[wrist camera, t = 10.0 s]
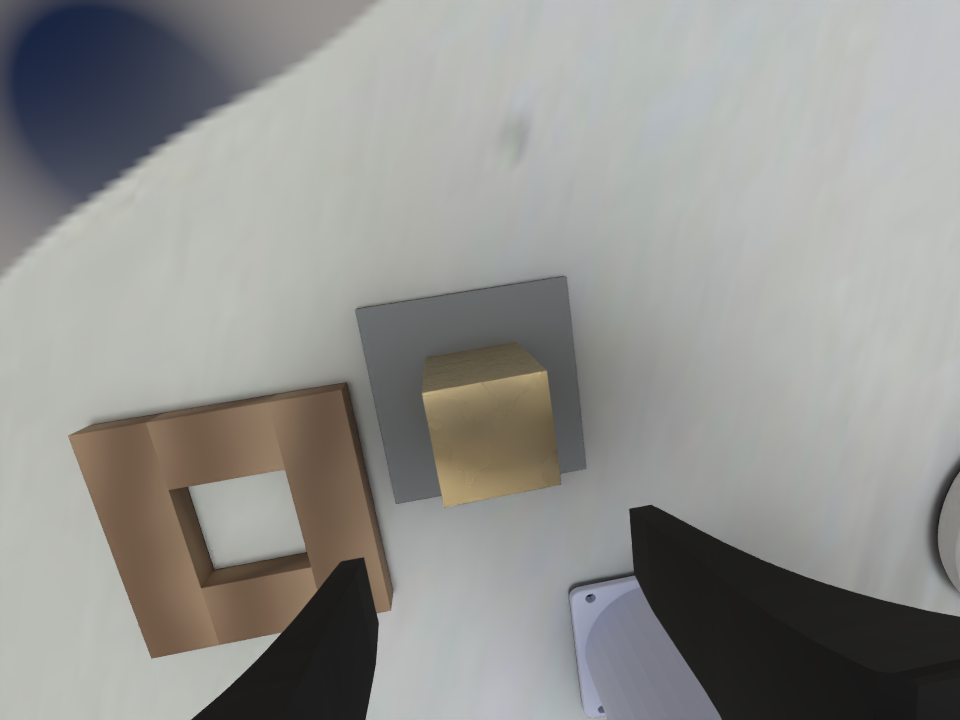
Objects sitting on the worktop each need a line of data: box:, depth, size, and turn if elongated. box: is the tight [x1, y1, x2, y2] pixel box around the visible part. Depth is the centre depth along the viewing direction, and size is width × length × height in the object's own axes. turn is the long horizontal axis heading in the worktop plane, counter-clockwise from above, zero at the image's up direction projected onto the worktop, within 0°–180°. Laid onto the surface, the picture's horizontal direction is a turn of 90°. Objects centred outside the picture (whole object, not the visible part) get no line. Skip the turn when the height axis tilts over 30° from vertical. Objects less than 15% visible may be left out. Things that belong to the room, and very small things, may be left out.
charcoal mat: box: [355, 276, 586, 504], centre depth 20 cm, size 9×9×1 cm
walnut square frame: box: [68, 383, 393, 659], centre depth 20 cm, size 11×11×1 cm
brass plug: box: [422, 342, 561, 507], centre depth 17 cm, size 4×4×6 cm
